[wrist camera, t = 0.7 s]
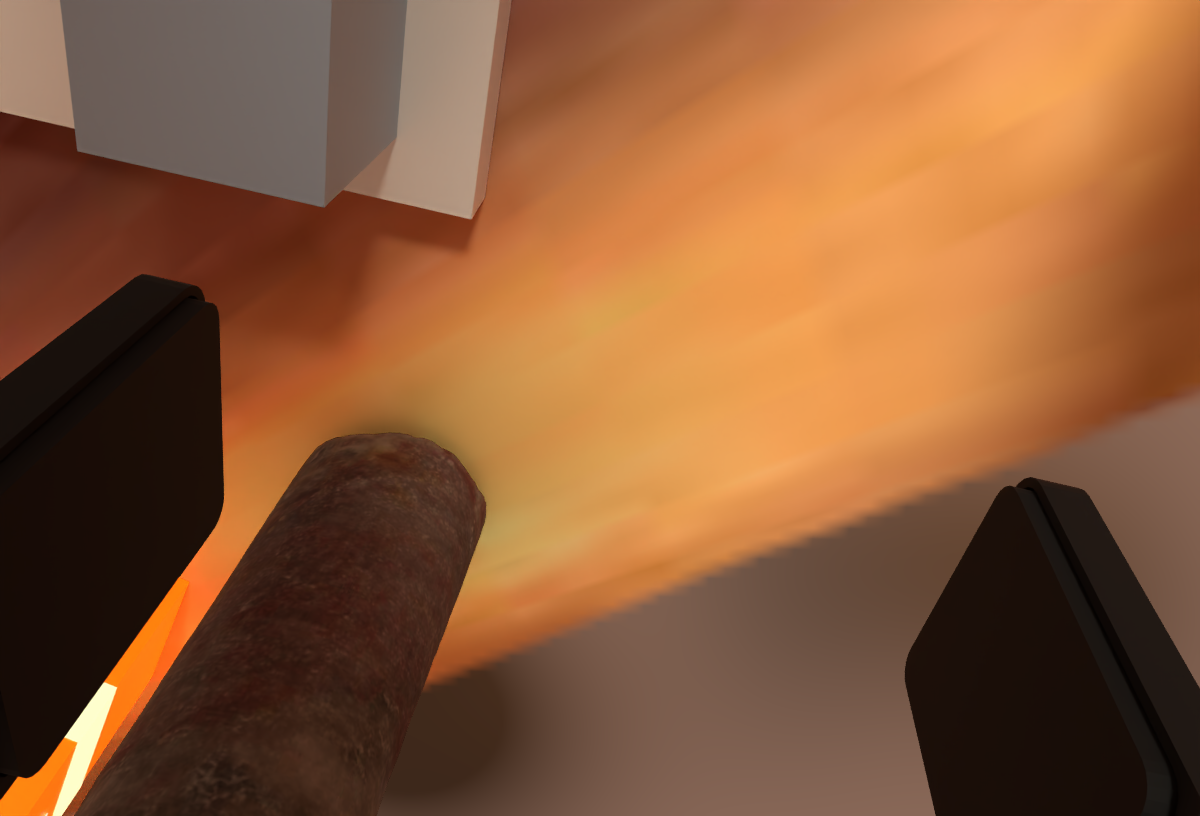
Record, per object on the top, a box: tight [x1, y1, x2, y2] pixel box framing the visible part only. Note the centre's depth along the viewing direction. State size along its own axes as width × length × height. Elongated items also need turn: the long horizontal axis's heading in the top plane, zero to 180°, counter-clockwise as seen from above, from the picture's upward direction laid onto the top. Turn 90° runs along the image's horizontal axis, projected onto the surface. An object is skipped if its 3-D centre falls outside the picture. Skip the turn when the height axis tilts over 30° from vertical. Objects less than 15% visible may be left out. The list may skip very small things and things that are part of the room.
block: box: [60, 0, 407, 207], centre depth 23 cm, size 6×6×6 cm
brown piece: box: [74, 433, 486, 816], centre depth 28 cm, size 8×7×20 cm
